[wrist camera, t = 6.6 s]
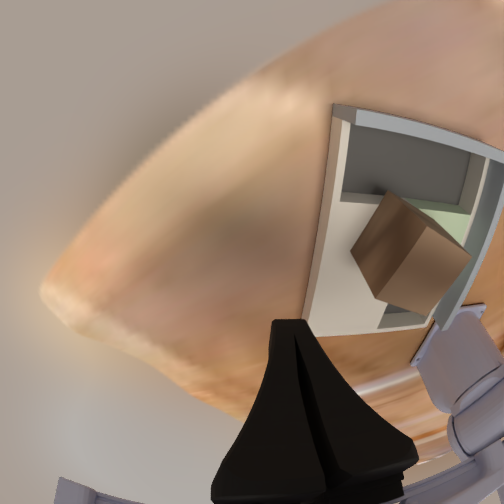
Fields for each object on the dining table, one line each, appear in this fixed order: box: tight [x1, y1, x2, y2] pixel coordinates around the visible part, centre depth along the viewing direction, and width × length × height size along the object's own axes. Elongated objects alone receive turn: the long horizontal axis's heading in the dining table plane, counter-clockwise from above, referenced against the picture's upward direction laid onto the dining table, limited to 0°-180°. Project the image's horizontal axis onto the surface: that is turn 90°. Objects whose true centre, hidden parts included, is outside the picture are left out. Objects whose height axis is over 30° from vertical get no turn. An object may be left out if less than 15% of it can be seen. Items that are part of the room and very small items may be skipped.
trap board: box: [301, 104, 504, 337], centre depth 18 cm, size 18×13×4 cm
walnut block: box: [350, 190, 472, 316], centre depth 16 cm, size 5×5×5 cm
